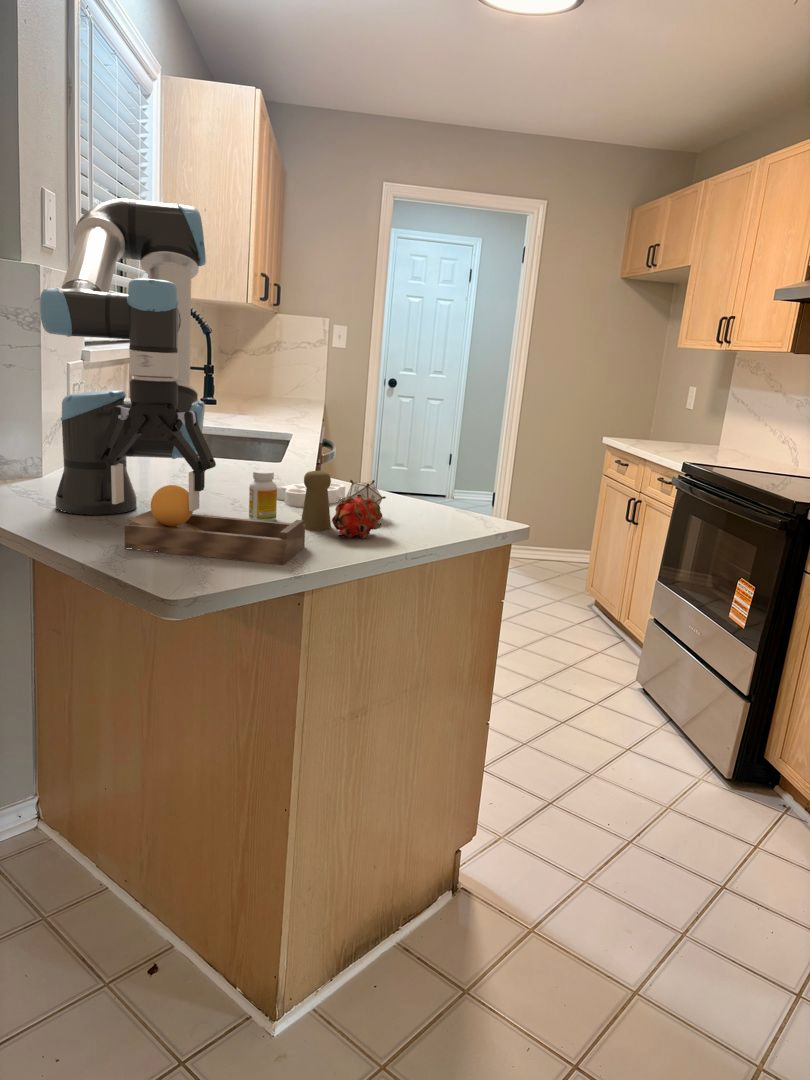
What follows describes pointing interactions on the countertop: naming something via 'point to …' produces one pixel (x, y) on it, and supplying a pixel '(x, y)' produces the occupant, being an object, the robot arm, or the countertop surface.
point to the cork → (316, 501)
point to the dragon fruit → (357, 517)
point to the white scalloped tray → (297, 492)
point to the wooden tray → (218, 537)
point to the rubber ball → (171, 505)
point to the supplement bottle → (262, 496)
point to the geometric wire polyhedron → (364, 491)
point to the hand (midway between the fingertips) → (155, 506)
